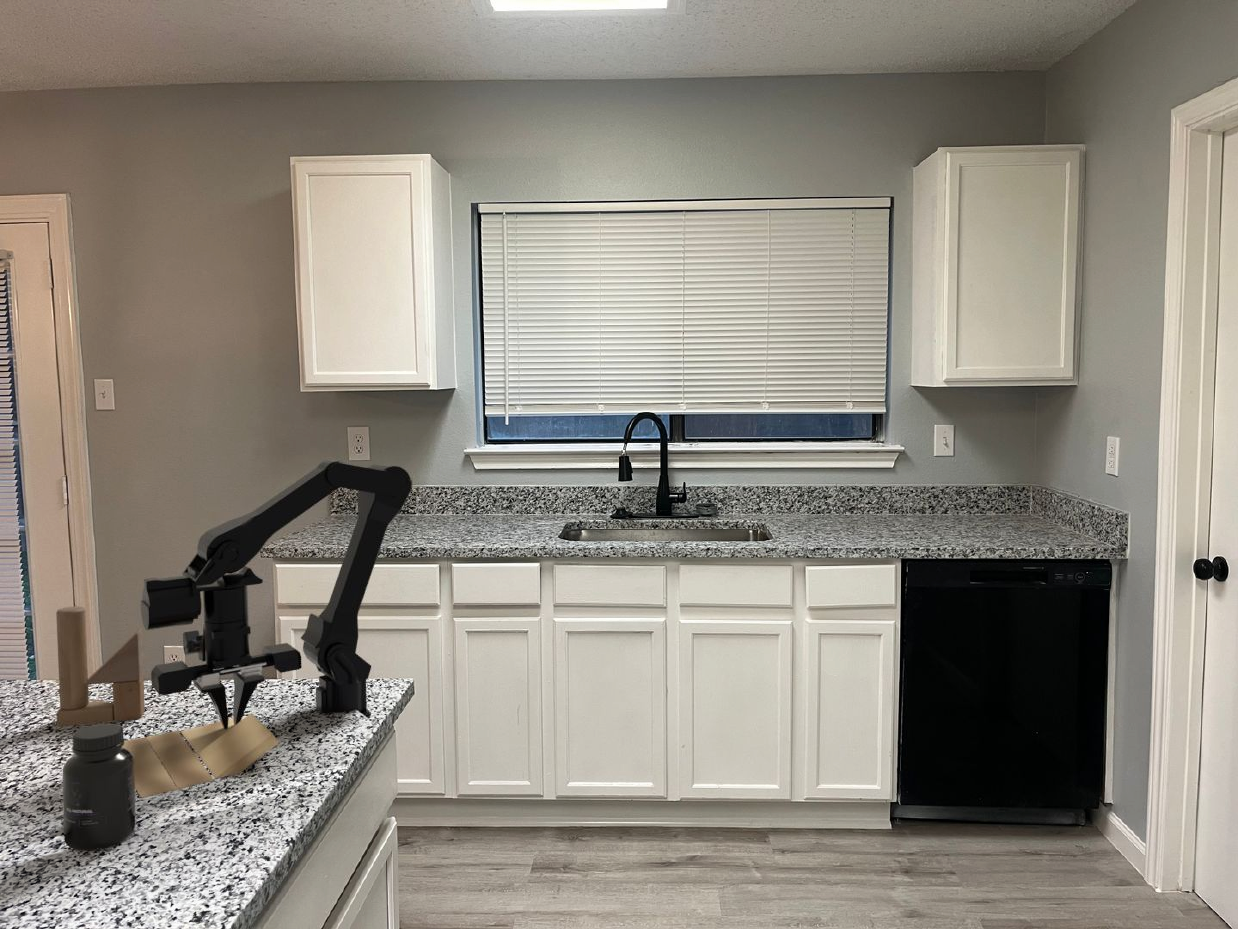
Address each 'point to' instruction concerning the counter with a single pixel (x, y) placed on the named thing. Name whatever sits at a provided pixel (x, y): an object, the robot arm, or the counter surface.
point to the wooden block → (96, 675)
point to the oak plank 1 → (206, 734)
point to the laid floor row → (165, 764)
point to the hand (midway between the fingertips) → (230, 727)
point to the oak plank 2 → (238, 747)
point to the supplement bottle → (98, 789)
